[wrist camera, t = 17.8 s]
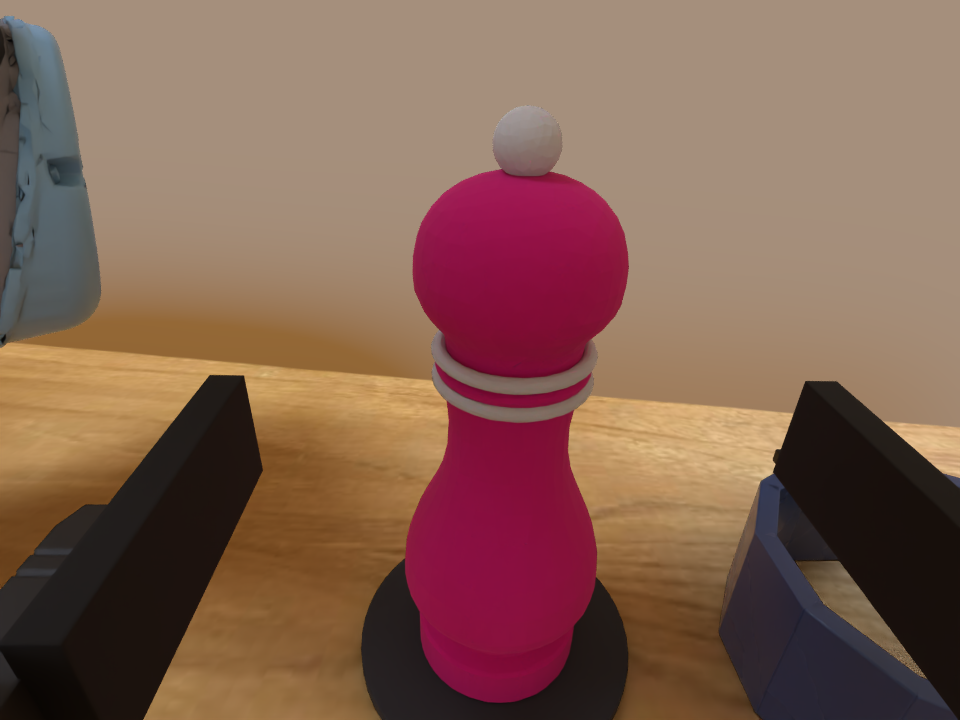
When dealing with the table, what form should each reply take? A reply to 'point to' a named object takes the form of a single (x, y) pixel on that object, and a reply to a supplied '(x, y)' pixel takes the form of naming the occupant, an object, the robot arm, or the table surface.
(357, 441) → the table surface
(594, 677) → the coaster
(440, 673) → the pepper mill
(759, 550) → the pot
